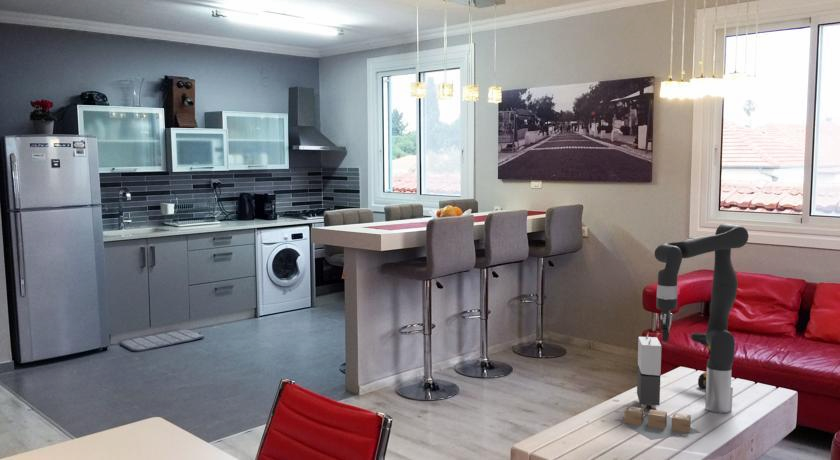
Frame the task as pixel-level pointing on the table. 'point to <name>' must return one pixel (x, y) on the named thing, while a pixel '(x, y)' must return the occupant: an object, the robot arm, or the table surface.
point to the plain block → (657, 419)
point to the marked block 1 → (634, 416)
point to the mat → (654, 432)
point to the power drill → (701, 339)
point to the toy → (649, 371)
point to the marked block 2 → (681, 422)
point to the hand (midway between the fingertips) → (665, 340)
